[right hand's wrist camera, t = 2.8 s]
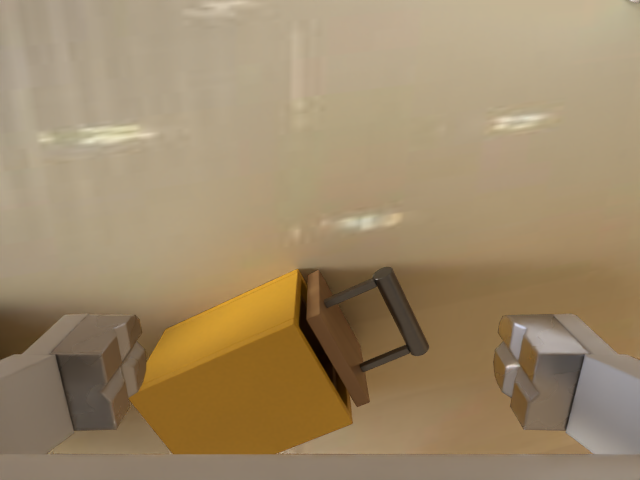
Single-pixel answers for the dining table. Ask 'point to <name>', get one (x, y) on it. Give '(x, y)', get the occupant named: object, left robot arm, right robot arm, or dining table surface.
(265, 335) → the cabinet
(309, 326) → the drawer
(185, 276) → the dining table surface
